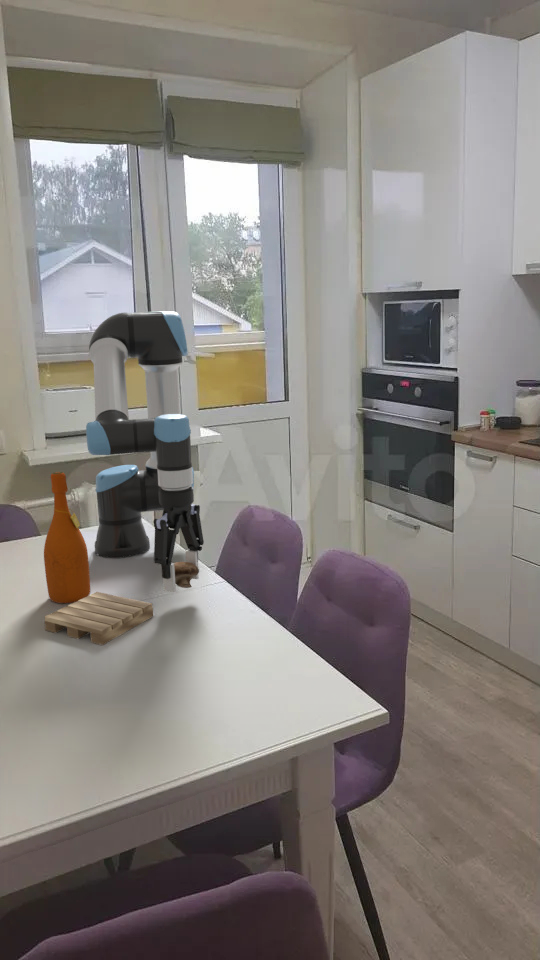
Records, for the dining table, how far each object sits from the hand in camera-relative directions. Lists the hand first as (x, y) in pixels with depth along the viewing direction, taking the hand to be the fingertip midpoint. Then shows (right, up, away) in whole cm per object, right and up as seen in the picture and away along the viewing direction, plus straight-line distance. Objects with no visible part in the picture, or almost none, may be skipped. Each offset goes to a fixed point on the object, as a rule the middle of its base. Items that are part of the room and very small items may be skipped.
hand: (181, 584), depth 167 cm
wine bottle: (-27, -4, +7) cm, 28 cm away
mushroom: (0, -1, 0) cm, 1 cm away
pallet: (-16, -7, -8) cm, 20 cm away
